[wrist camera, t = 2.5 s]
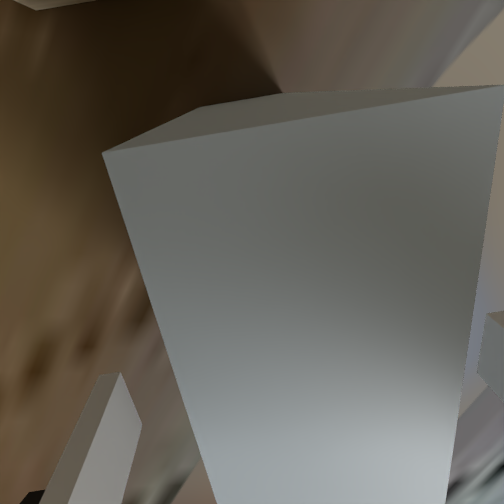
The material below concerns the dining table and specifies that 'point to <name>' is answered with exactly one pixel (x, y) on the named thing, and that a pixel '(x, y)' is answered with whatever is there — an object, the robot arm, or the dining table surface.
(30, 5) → the maple rail
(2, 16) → the dining table surface
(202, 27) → the dining table surface
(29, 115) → the dining table surface
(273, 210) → the grey board
